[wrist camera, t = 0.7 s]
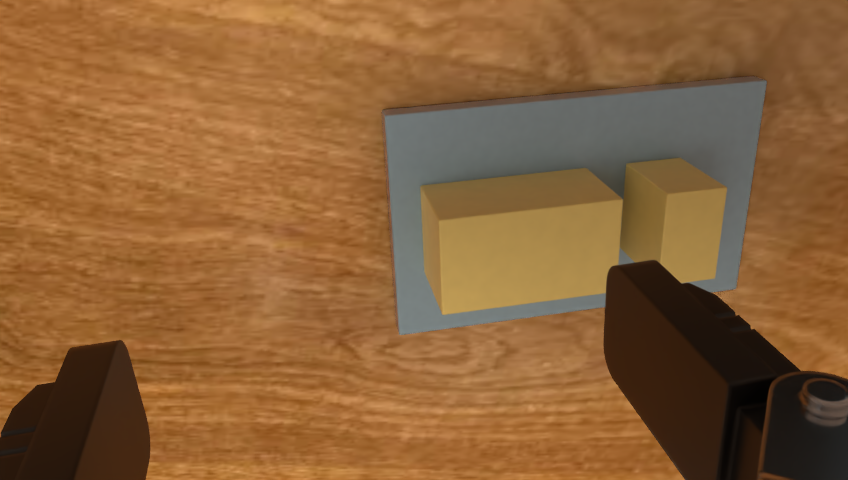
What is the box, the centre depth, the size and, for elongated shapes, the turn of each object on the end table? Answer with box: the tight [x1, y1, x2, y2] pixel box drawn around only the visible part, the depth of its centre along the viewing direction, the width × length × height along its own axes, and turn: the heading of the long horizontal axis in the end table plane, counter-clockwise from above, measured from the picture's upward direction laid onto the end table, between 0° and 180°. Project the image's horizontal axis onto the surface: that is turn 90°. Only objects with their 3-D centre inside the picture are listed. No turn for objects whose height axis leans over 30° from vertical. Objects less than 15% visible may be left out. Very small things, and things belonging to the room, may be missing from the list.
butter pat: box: [620, 158, 727, 283], centre depth 25 cm, size 3×2×3 cm, turn 3°
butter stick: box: [420, 168, 623, 315], centre depth 24 cm, size 3×6×3 cm, turn 93°
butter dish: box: [382, 76, 767, 335], centre depth 26 cm, size 8×13×1 cm, turn 93°
